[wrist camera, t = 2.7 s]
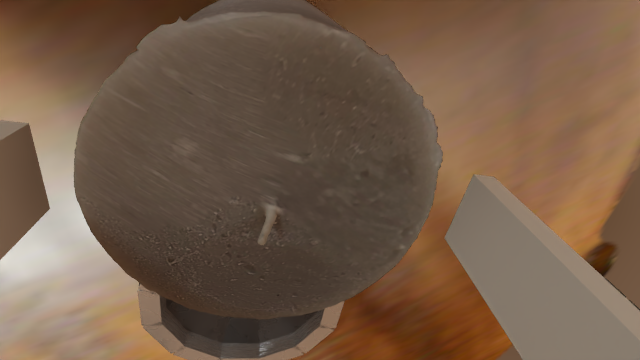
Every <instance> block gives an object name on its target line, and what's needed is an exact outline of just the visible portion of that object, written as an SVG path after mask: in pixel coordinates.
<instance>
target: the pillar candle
mask: <svg viewBox="0 0 640 360" xmlns="http://www.w3.org/2000/svg"><path fill="white" fill-rule="evenodd" d="M136 47H137V49H138V50H137V51H135V52H133V53H131V54H130V55H129V56H127V57H126V59H125V61H124V63H122V64H121V65H120V66H119V67H118V68H117V69H116V71H115V72H114V73H113V74H111V75H110V76H109V77H108V78H107V79H106V80H105V82H104V83H103V84H102V86H101V88H100V90H99V92H98V94H97V95H96V97H95V98H94V100H93V102H92V103H91V105H90V107H89V109H88V111H87V113H86V115H85V116H84V117H83V119H82V121H81V124H80V127H79V131H78V137H77V142H76V149H75V158H74V187H75V193H76V198H77V201H78V203H79V205H80V207H81V210H82V213H83V215H84V218H85V219H86V222H87V224H88V226H89V228H90V230H91V232H92V233H93V235H94V236H95V237H96V239H97V240H98V241H99V243H100V244H101V245H102V247H103V248H104V249H105V251H106V252H107V253H108V254H109V255H110V256H111V258H112V259H113V260H114V261H115V262H116V263H118V265H119V266H120V267H121V268H122V269H123V270H124V271H125V272H126V273H127V274H128V275H129V276H131V277H132V278H134V279H136V280H137V281H138V282H139V283H140V284H141V285H142V286H144V287H145V288H146V289H147V290H150V291H154V292H156V293H157V294H158V295H160V296H162V297H164V298H166V299H170V300H172V301H174V302H176V303H178V304H181V305H183V306H185V307H186V308H189V309H194V310H196V311H199V312H207V313H210V314H214V315H219V316H224V317H235V318H255V319H259V320H260V319H272V318H279V317H290V316H298V315H304V314H308V313H312V312H315V311H319V310H322V309H325V308H327V307H331V306H334V305H337V304H338V303H340V302H342V301H345V300H347V299H349V298H352V297H354V296H355V295H356V294H358V293H360V292H362V291H363V290H365V289H366V288H368V287H369V286H371V285H372V284H373V283H375V282H376V281H378V280H379V279H380V278H382V277H383V276H384V275H385V274H386V273H387V272H389V271H390V270H391V269H393V267H395V266H396V264H398V263H399V261H400V260H401V259H402V257H403V256H404V255H405V254H406V252H407V251H408V249H409V248H410V247H411V245H412V243H413V242H414V241H415V240H416V239H417V237H418V234H419V233H420V231H421V229H422V226H423V225H424V223H425V221H426V219H427V218H428V215H429V212H430V209H431V206H432V204H433V199H434V192H435V190H436V183H437V182H436V180H437V176H438V170H439V168H440V167H441V163H442V156H443V152H442V150H441V146H440V145H439V144H438V143H437V141H436V140H437V137H438V135H437V128H438V127H437V126H436V124H435V119H434V116H433V115H432V113H431V111H430V110H428V109H426V108H425V107H424V106H423V97H422V96H420V95H418V94H416V93H415V92H414V90H413V88H412V86H411V85H410V84H409V83H408V82H407V81H406V80H405V79H404V77H403V76H402V74H401V73H400V72H399V71H398V70H397V68H396V66H395V63H394V62H393V61H391V59H390V58H389V56H388V55H387V54H386V55H384V56H383V55H380V54H378V53H377V52H375V51H374V50H373V49H372V48H370V47H369V46H367V44H366V42H365V41H363V40H362V39H360V38H359V37H357V36H356V35H355V34H353V33H350V32H348V31H347V30H345V29H344V28H342V27H341V26H340V25H339V24H337V23H336V22H335V21H333V20H332V19H331V18H330V17H328V16H327V15H326V14H324V13H323V12H321V11H320V10H319V9H317V8H316V7H314V6H313V5H312V4H310V3H309V2H307V1H306V0H218V1H217V2H215V3H213V4H211V5H209V6H207V7H205V8H203V9H201V10H200V11H199V12H197V13H195V14H194V15H192V16H191V17H190V18H188V20H186V21H183V20H182V19H181V17H180V16H179V19H178V20H177V21H176V22H175V23H173V24H167V25H160V26H159V27H158V28H156V29H155V30H154V31H152V32H150V33H149V34H147V35H146V36H145V37H144V38H143V39H142V40H141V42H140V43H139V44H138V46H136Z"/></svg>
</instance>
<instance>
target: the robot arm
mask: <svg viewBox="0 0 640 360" xmlns="http://www.w3.org/2000/svg"><path fill="white" fill-rule="evenodd" d="M49 209H50V207H49V203H48V199H47V195H46V191H45V187H44V183H43V179H42V175H41V171H40V167H39V162H38V158H37V154H36V150H35V146H34V142H33V138H32V134H31V130H30V126H29V123H21V122H12V121H4V120H0V260H1V259H2V257H3V256H4V255H5V254H6V253H7V252H8V251H9V250H10V249H11V248H12V247H13V246H14V245H15V244H16V243H17V242H18V241H19V240H20V239H21V238H22V237H23V236H24V235H25V234H26V233H27V232H28V231H29V230H30V229H31V228H32V227H33V226H34V224H35V223H36V222H37V221H38V220H39V219H40V218H41V217H42V216H43V215H44V214H45V213H46V212H47V211H48V210H49ZM445 240H446V241H447V243H448V244H449V246H450V248H451V249H452V251H453V252H454V254H455V255H456V257H457V258H458V260H459V262H460V263H461V265H462V266H463V268H464V269H465V271H466V272H467V274H468V275H469V277H470V279H471V280H472V282H473V283H474V285H475V286H476V288H477V289H478V291H479V292H480V294H481V296H482V297H483V299H484V300H485V302H486V303H487V305H488V306H489V308H490V310H491V311H492V313H493V314H494V316H495V317H496V319H497V320H498V322H499V323H500V325H501V327H502V328H503V330H504V331H505V333H506V334H507V336H508V337H509V339H510V341H511V342H512V344H513V345H514V347H515V348H516V350H517V351H518V353H519V354H520V356H521V358H522V359H523V360H640V309H639V308H638V307H637V306H636V305H635V304H633V303H632V302H631V301H630V300H627V299H626V296H625V295H624V294H623V293H621V292H620V291H619V290H618V289H617V288H616V287H615V286H614V285H613V284H612V283H610V282H609V281H608V280H607V279H606V278H604V277H603V276H601V275H600V274H599V273H598V272H597V271H596V270H595V269H594V268H593V267H592V266H591V265H589V264H588V263H587V262H586V261H585V260H584V259H583V258H582V257H581V256H580V255H579V254H577V253H576V252H575V251H574V250H573V249H572V248H571V247H570V246H569V245H568V244H567V243H565V242H564V241H563V240H562V239H561V238H560V237H559V236H558V235H557V234H556V233H555V232H553V231H552V230H551V229H550V228H549V227H548V226H547V225H546V224H545V223H544V222H543V221H542V220H540V219H539V218H538V217H537V216H536V215H535V214H534V213H533V212H532V211H531V210H530V209H528V208H527V207H526V206H525V205H524V204H523V203H522V202H521V201H520V200H519V199H518V198H516V197H515V196H514V195H513V194H512V193H511V192H510V191H509V190H508V189H507V188H506V187H504V186H503V185H502V184H501V183H500V182H499V181H498V180H497V179H496V178H495V177H492V176H483V175H475V174H474V175H473V177H472V179H471V181H470V183H469V185H468V188H467V190H466V192H465V194H464V196H463V199H462V201H461V203H460V205H459V207H458V209H457V212H456V214H455V216H454V218H453V220H452V223H451V225H450V227H449V229H448V231H447V233H446V236H445Z"/></svg>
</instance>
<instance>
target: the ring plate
mask: <svg viewBox="0 0 640 360" xmlns="http://www.w3.org/2000/svg"><path fill="white" fill-rule="evenodd" d="M138 299H139V307H140V315H141V324H142V326H143V328H144V329H145V330H146V331H147V332H148V333H149V334H150V335H151V336H153V337H154V338H155V339H156V340H157V341H158V342H159V343H160V344H161V345H162V346H163V347H164V348H165V349H167V350H168V351H169V352H170V353H174V354H173V355H176V356H179V357H182V358H185V359H188V360H289V359H292V358H295V357H298V356H301V355H304V353H307V352H308V351H310V350H311V349H312V348H313V347H314V346H316V345H317V344H318V343H319V342H321V341H322V340H323V339H324V338H325V337H327V336H328V335H329V334H330V333H332V332H333V331H334V328H336V326H337V323H338V320H339V317H340V314H341V311H342V308H343V304H344V301H342V302H340V303H338V304H337V305H334V306H331V307H327V308H325V309H322V310H319V311H315V312H312V313H308V314H304V315H298V316H290V317H279V318H272V319H260V320H259V319H255V318H235V317H224V316H219V315H214V314H210V313H207V312H199V311H196V310H194V309H189V308H186V307H185V306H183V305H181V304H178V303H176V302H174V301H172V300H170V299H166V298H164V297H162V296H160V295H158V294H157V293H156V292H154V291H150V290H147V289H146V288H145V287H144V286H142V285H141V284H140V283H139V288H138Z"/></svg>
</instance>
